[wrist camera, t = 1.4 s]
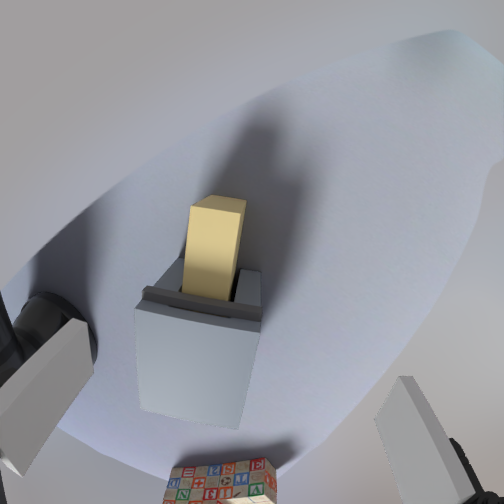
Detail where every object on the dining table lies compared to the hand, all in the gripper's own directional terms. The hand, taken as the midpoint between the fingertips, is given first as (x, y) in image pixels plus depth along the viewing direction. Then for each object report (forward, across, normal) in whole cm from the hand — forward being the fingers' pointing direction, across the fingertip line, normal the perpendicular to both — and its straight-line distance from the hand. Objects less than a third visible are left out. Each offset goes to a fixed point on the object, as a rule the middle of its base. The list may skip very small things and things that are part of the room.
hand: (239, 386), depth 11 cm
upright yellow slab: (+24, -4, -3) cm, 24 cm away
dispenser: (+24, -4, -10) cm, 26 cm away
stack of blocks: (+24, +2, -49) cm, 54 cm away
